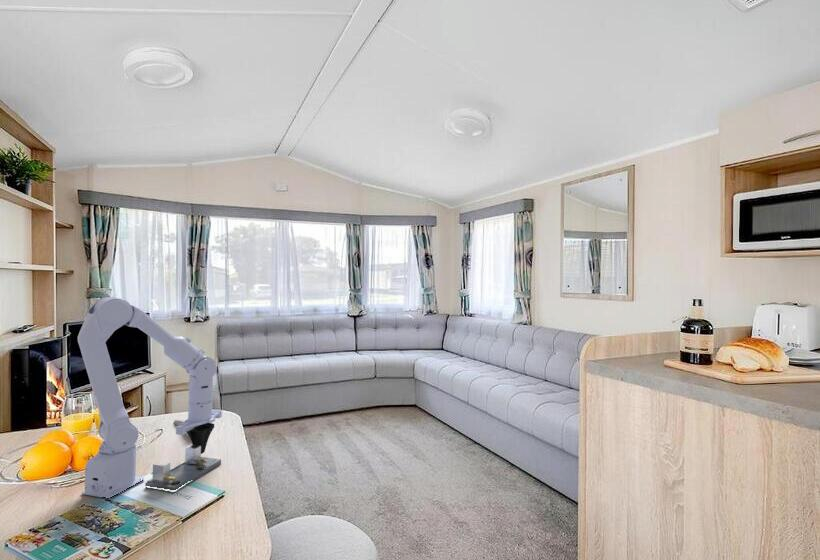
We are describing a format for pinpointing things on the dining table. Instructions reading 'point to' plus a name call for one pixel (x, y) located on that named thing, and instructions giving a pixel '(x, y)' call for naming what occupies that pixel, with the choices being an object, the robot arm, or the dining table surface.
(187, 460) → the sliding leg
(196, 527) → the dining table surface
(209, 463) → the gauge plate
